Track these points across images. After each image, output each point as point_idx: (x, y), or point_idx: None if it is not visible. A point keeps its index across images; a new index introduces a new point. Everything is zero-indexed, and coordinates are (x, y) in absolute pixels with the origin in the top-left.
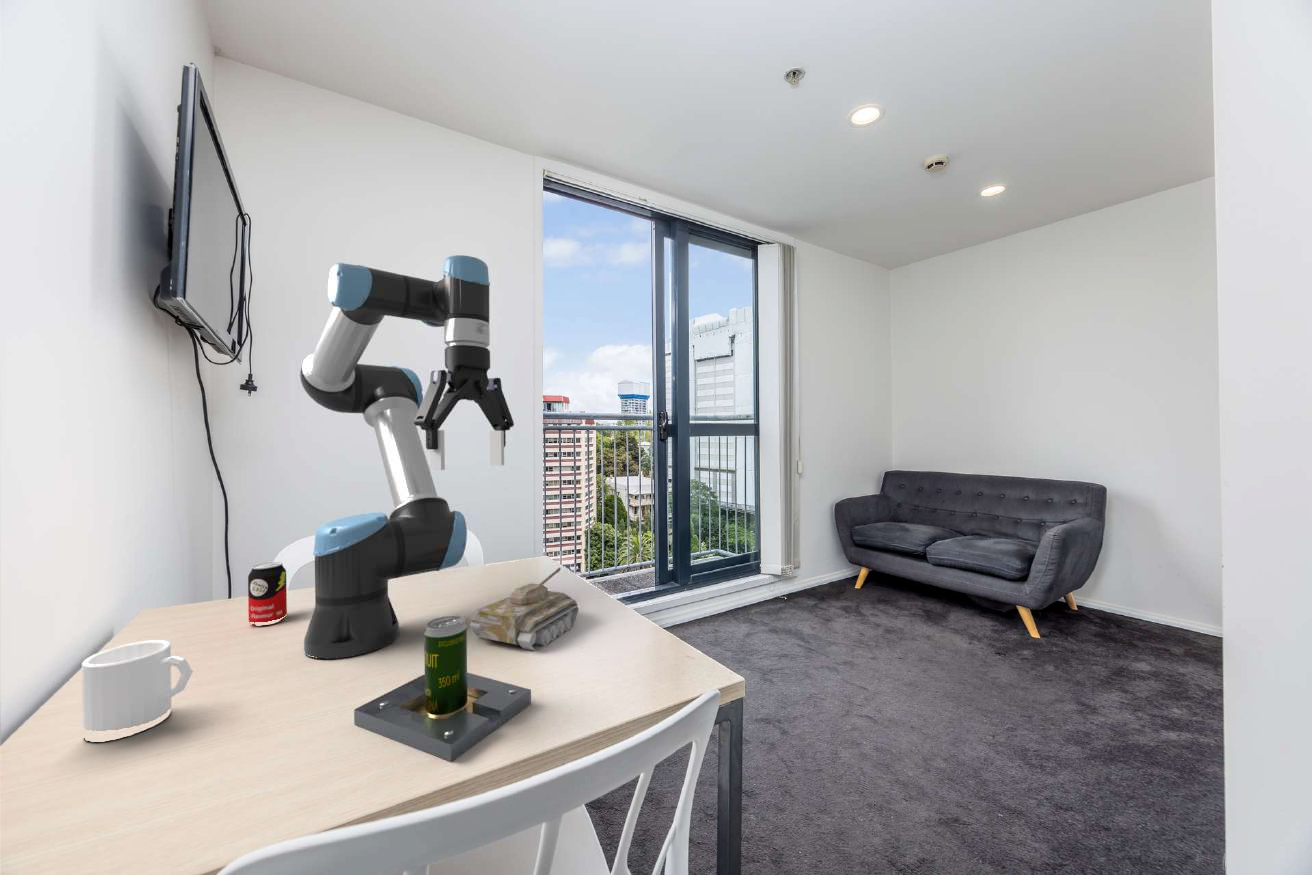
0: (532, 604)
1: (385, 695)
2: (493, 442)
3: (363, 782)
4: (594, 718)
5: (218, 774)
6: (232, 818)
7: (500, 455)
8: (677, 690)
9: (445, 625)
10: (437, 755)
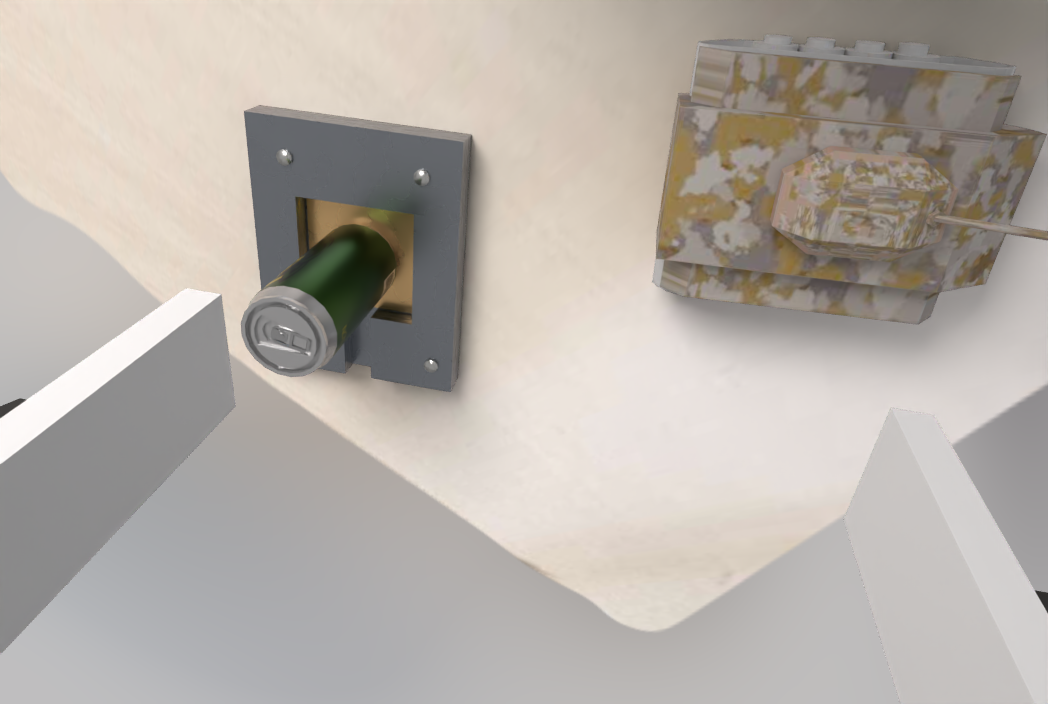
0: (785, 249)
1: (308, 127)
2: (953, 633)
3: (190, 261)
4: (460, 484)
5: (62, 6)
6: (57, 150)
7: (870, 582)
8: (586, 573)
9: (270, 351)
10: None
